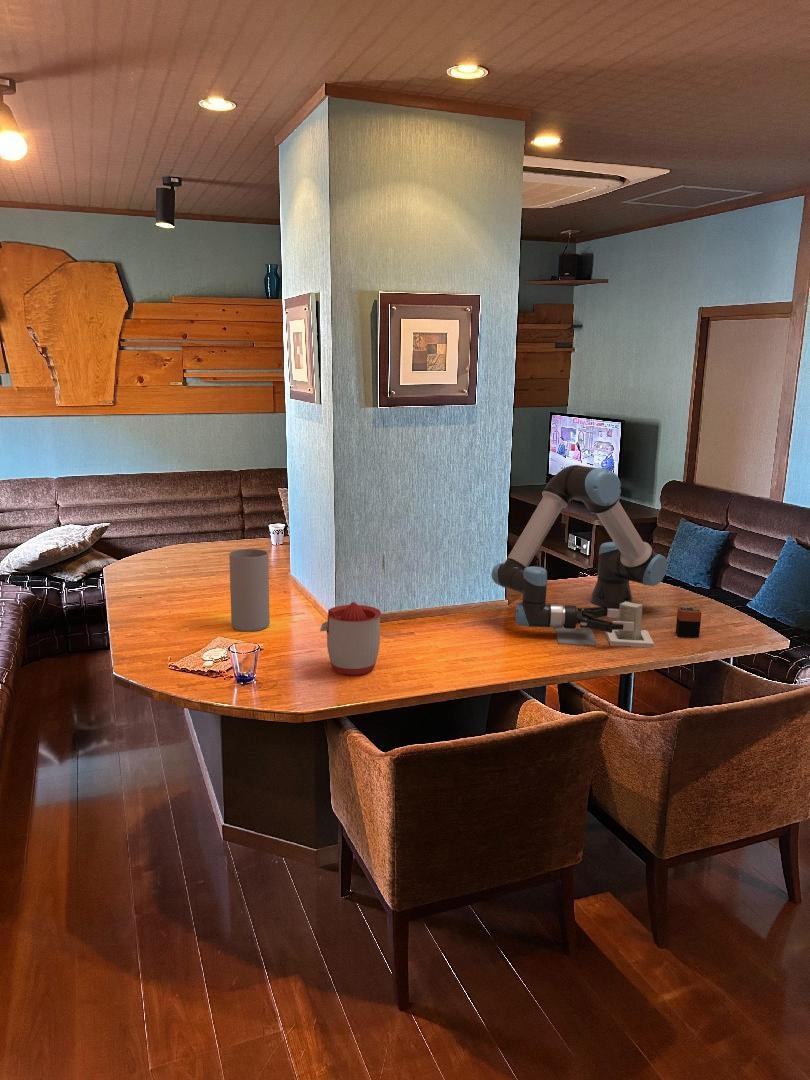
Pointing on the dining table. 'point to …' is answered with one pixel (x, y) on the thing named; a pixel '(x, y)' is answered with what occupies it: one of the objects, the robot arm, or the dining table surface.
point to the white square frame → (644, 641)
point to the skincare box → (630, 620)
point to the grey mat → (575, 636)
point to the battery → (688, 622)
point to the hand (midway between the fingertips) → (630, 620)
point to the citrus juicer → (353, 638)
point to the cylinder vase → (249, 589)
